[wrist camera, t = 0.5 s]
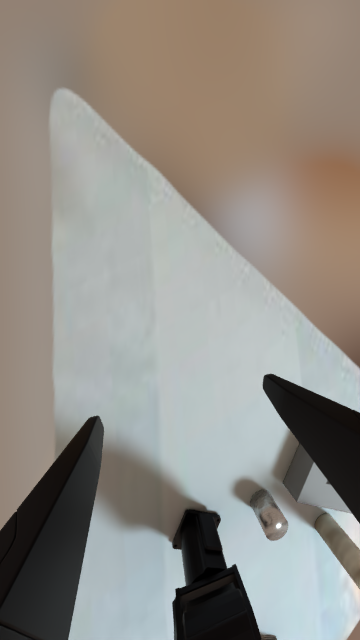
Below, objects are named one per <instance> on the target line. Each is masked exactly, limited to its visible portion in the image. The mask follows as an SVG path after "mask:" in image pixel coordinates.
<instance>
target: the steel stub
mask: <svg viewBox="0 0 360 640" xmlns="http://www.w3.org/2000/svg"><path fill="white" fill-rule="evenodd" d="M250 503H251V507H252V509H253V511H254V513H255V515H256V517H257V519H258V521H259V523H260V525H261V527H262V529H263V531H264V533H265V535H266V537H267V538H268V539H269V540H272V541H275V540H278V539H280V538H282V537H283V536H284V535H285V533H286V532H287V529H288V522H287V520H286V519H285V517H284V515H283V514H282V512H281V511H280V509H279V507H278V506H277V504H276V503H275V501H274V499H273V498H272V496H271V495H270V493H269V492H268V491H267V490H259V491H257V492H256V493H255V494H254V495H253V496H252V498H251V502H250Z"/></svg>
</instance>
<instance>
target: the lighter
mask: <svg viewBox="0 0 360 640" xmlns="http://www.w3.org/2000/svg"><path fill="white" fill-rule="evenodd" d="M261 639H262V640H277V638H276V636H274V635H269V636H261Z"/></svg>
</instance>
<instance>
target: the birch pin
mask: <svg viewBox="0 0 360 640" xmlns="http://www.w3.org/2000/svg"><path fill="white" fill-rule="evenodd" d="M315 529H316V530H317V532H318V533H319V534H320V536H321V537H322V539H323V540H324V541H325V543H326V544H327V545H328V547H329V548H330V549H331V551H332V552H333V554H334V555H335V556H336V558H337V559H338V560H339V562H340V563H341V564H342V566H343V567H344V569H345V570H346V571H347V573H348V574H349V575H350V577H351V578H352V580H353V581H354V582H355V584H356V585H357V586H358V588H359V589H360V549H359V548H358V547H357V546H356V545H355V543H354V542H353V541H352V540H351V539H350V538H349V536H348V535H347V534H346V533H345V532H344V531H343V529H342V528H341V527H340V526H339V525H338V523H337V522H336V521H335V520H334V519H333V518H332V516H331V515H330V514H322V515H321V516H319V517H318V519H317V520H316V522H315Z"/></svg>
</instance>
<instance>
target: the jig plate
mask: <svg viewBox="0 0 360 640" xmlns="http://www.w3.org/2000/svg"><path fill="white" fill-rule="evenodd" d="M283 484H284V485H285V487H286V488H287V489H288V491H289V492H290V494H291V495H292V496H293V498H294V499H295V500H296V502H299V503H304V504H308V505H313V506H318V507H323V508H328V509H332V510H337V511H342V512H347V513H351V511H350V510H349V508H348V507H347V506H346V504H345V503H344V502H343V500H342V499H341V498H340V496H339V495H338V494H337V492H336V491H335V490H334V488H333V487H332V486H331V484H330V483H329V482H328V480H327V479H326V478H325V476H324V475H323V474H322V472H321V471H320V470H319V468H318V467H317V465H316V464H315V463H314V461H313V460H312V459H311V457H310V456H309V455H308V453H307V452H306V451H305V449H304V448H303V447H302V445H301V444H299V447H298V449H297V451H296V454H295V456H294V458H293V461H292V463H291V465H290V468H289V470H288V472H287V475H286V477H285V479H284V482H283Z"/></svg>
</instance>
